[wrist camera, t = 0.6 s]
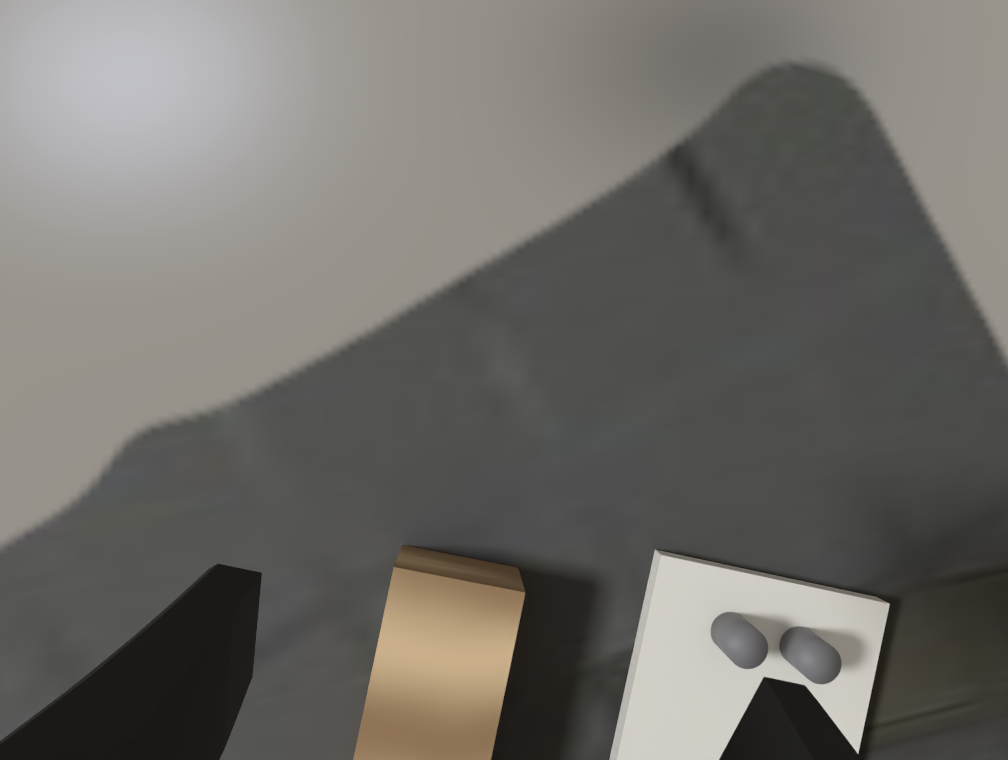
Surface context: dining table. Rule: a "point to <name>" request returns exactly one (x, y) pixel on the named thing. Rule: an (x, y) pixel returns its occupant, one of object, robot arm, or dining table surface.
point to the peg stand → (739, 655)
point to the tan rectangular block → (441, 659)
